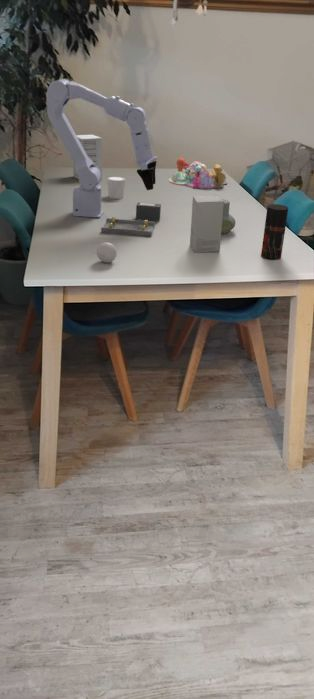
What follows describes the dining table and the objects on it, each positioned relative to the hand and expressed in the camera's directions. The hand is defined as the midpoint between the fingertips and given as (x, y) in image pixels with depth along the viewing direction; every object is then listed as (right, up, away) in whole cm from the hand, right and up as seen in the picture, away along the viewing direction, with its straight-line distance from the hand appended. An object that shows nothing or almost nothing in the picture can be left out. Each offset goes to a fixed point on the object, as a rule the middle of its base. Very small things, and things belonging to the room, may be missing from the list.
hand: (151, 186), depth 216 cm
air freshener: (+22, -16, -3) cm, 27 cm away
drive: (-1, -10, +5) cm, 11 cm away
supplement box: (-27, +17, +54) cm, 63 cm away
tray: (-7, -16, -7) cm, 19 cm away
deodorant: (+36, -27, -24) cm, 51 cm away
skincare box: (+16, -24, -21) cm, 36 cm away
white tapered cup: (-14, +3, +29) cm, 32 cm away
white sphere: (-13, -30, -35) cm, 48 cm away
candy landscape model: (+19, +16, +58) cm, 63 cm away
